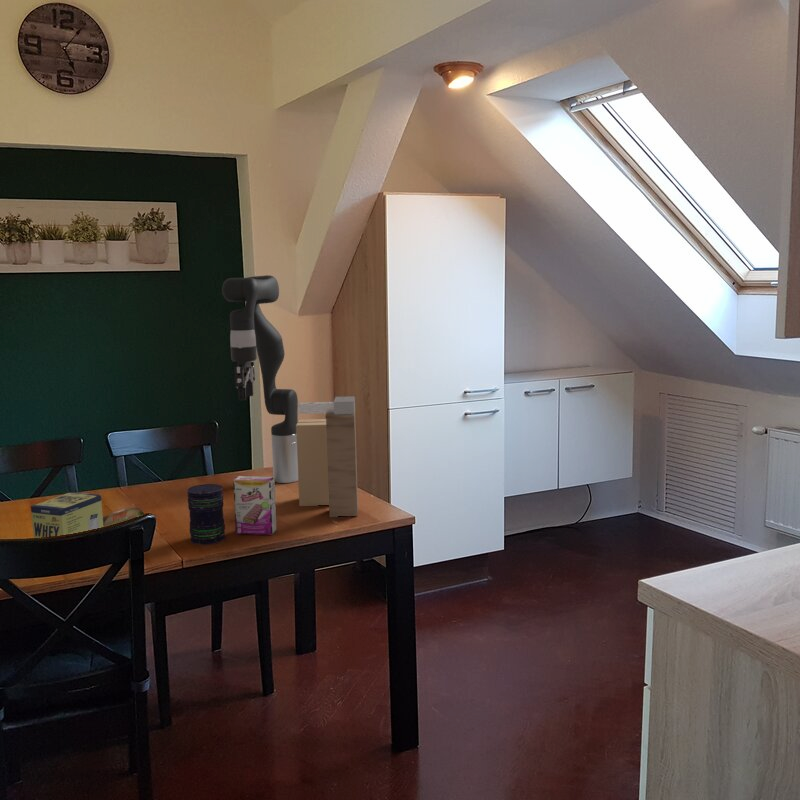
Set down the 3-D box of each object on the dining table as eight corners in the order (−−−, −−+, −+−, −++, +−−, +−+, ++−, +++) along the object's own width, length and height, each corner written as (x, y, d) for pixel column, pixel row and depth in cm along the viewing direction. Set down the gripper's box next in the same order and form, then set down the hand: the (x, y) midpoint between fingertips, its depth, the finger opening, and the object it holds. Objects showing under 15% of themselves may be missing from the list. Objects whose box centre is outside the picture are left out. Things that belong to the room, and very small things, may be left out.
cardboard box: (302, 497, 279) (299, 419, 275) (338, 496, 279) (335, 418, 275) (299, 506, 269) (296, 425, 265) (336, 505, 269) (333, 424, 265)
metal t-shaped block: (300, 410, 260) (299, 397, 260) (355, 408, 260) (354, 396, 260) (297, 416, 250) (296, 402, 250) (354, 414, 251) (353, 401, 250)
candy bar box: (235, 535, 241) (232, 479, 239) (240, 529, 246) (237, 475, 244) (273, 535, 240) (270, 480, 238) (277, 530, 245) (274, 475, 243)
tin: (105, 547, 234) (102, 518, 232) (97, 545, 235) (95, 516, 234) (147, 532, 246) (145, 504, 245) (139, 530, 248) (137, 503, 246)
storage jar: (193, 534, 243) (190, 484, 240) (227, 533, 243) (224, 483, 241) (187, 546, 233) (184, 494, 230) (223, 544, 234) (220, 492, 231)
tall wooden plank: (331, 508, 266) (328, 409, 261) (358, 507, 267) (355, 408, 261) (329, 519, 255) (325, 415, 249) (357, 518, 255) (354, 415, 250)
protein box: (34, 562, 222) (29, 505, 220) (77, 544, 237) (72, 490, 234) (65, 566, 219) (60, 509, 216) (106, 547, 233) (102, 493, 230)
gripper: (237, 343, 258) (240, 394, 261) (224, 347, 244) (227, 402, 247) (261, 342, 258) (263, 394, 260) (249, 347, 244) (252, 401, 246)
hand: (246, 398), depth 254 cm, fingers open, 8 cm apart
